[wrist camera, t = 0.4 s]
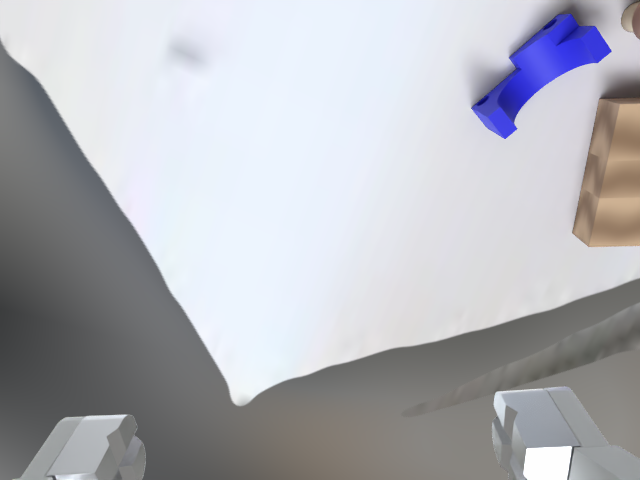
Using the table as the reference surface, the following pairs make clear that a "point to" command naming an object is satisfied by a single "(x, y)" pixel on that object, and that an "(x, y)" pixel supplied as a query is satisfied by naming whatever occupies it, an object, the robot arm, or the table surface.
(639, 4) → the peg
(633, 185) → the board
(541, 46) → the cable clip
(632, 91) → the table surface
